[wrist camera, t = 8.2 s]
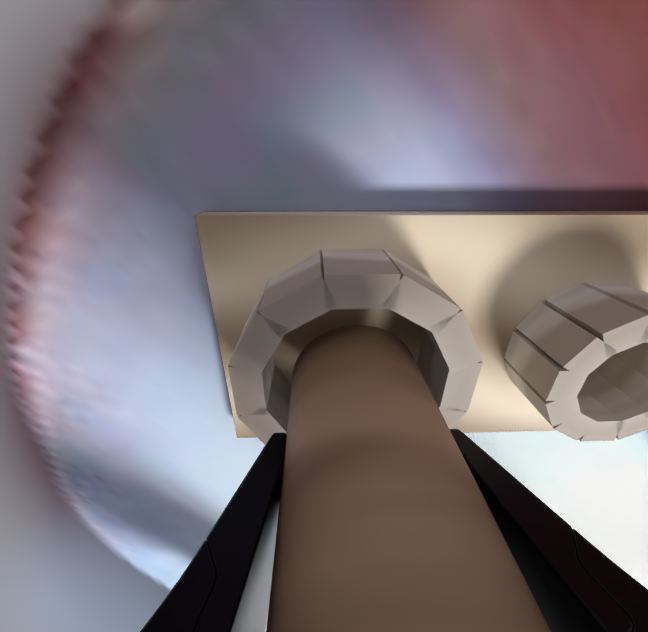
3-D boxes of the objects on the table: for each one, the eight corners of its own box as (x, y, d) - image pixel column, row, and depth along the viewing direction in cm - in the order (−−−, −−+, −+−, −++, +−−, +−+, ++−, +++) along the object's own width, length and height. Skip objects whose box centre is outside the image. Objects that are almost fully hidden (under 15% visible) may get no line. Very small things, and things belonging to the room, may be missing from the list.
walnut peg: (406, 421, 13) (587, 932, 5) (295, 423, 13) (256, 954, 4) (424, 324, 11) (867, 980, 2) (289, 325, 11) (183, 1029, 2)
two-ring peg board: (602, 416, 18) (671, 477, 15) (240, 423, 18) (222, 489, 14) (724, 210, 13) (883, 230, 9) (203, 212, 12) (157, 233, 9)
